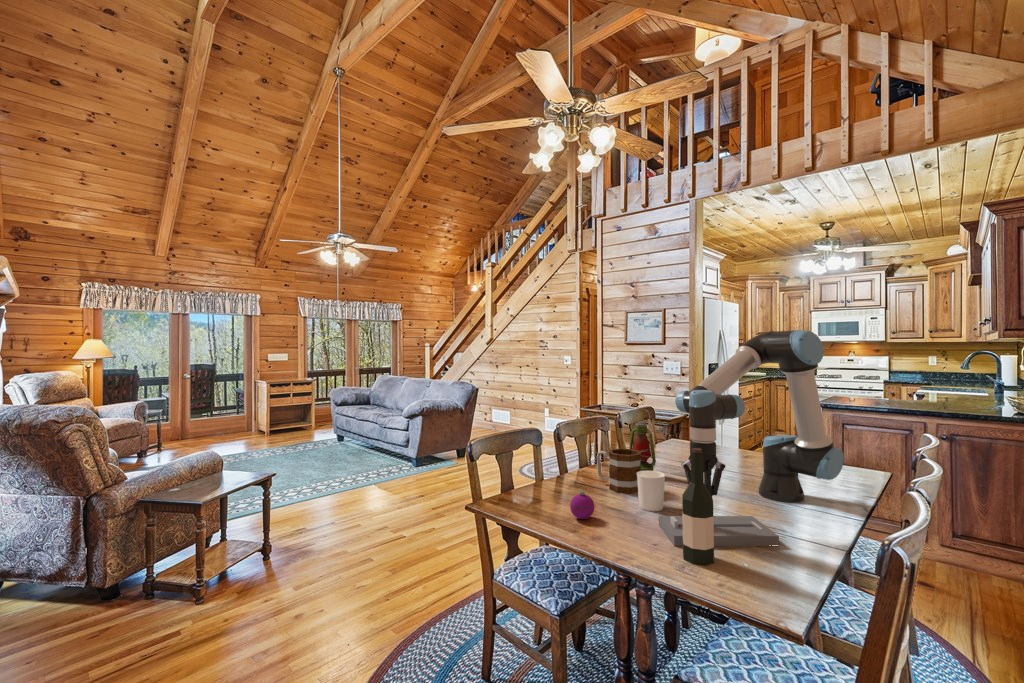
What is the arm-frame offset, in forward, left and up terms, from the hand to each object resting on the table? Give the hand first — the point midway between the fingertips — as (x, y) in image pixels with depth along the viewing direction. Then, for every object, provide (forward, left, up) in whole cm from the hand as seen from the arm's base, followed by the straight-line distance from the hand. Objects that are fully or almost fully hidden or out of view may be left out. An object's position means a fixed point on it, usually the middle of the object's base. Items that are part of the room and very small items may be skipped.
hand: (703, 517), depth 145 cm
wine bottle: (+8, +16, -6) cm, 19 cm away
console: (-3, 0, -5) cm, 6 cm away
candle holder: (+10, -25, -6) cm, 27 cm away
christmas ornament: (+36, -14, -6) cm, 39 cm away
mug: (+17, -49, -6) cm, 52 cm away
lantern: (+3, -67, -6) cm, 67 cm away
